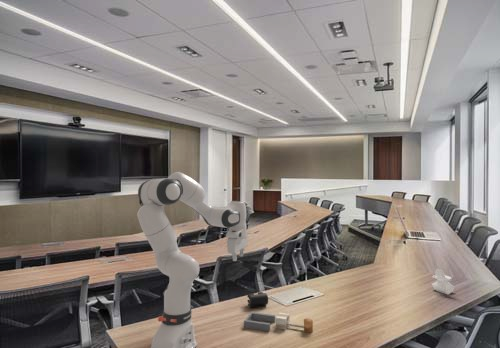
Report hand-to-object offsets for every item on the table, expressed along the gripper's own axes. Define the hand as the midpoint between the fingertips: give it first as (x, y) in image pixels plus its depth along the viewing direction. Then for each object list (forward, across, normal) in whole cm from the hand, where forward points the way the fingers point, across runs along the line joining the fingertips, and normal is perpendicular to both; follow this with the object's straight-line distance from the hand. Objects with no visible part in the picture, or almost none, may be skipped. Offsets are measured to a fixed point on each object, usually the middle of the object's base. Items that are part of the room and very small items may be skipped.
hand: (238, 258), depth 171 cm
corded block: (+29, +6, +30) cm, 43 cm away
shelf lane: (+29, +7, +14) cm, 33 cm away
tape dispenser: (+30, -71, +108) cm, 132 cm away
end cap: (+30, -14, +6) cm, 33 cm away
